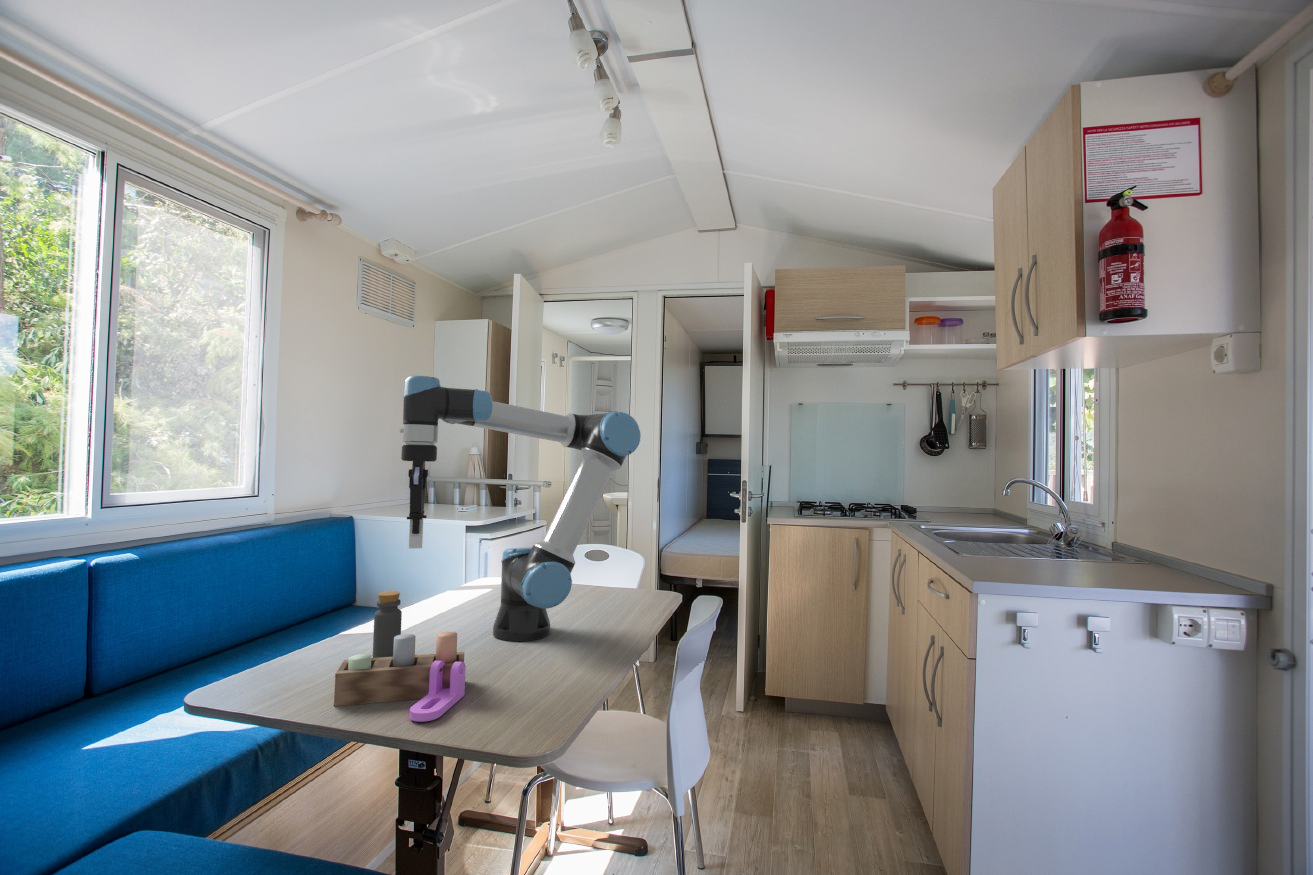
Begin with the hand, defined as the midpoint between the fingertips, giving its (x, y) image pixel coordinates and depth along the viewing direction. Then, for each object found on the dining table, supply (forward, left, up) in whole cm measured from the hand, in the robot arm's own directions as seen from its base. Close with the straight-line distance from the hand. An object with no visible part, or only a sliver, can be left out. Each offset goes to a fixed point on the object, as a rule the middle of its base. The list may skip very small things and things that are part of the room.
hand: (415, 547), depth 135 cm
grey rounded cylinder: (0, +16, -22) cm, 27 cm away
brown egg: (-8, +16, -22) cm, 28 cm away
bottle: (+6, -7, -27) cm, 28 cm away
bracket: (-7, +26, -26) cm, 37 cm away
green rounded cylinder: (+8, +16, -25) cm, 31 cm away
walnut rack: (0, +16, -26) cm, 31 cm away
